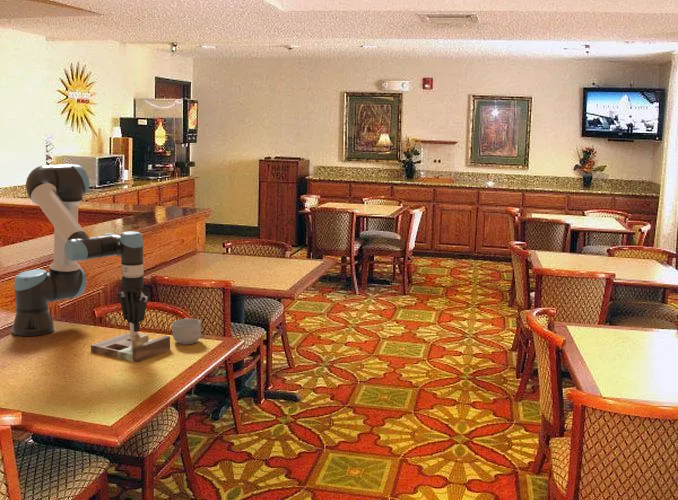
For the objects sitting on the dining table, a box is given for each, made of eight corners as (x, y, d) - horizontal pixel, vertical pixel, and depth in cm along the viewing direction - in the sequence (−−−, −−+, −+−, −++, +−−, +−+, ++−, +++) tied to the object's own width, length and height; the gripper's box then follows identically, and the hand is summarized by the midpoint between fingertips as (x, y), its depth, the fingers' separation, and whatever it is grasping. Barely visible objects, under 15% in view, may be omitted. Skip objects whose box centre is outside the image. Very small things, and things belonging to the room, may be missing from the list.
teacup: (197, 347, 279) (197, 326, 277) (168, 346, 279) (168, 325, 278) (205, 336, 293) (205, 316, 291) (177, 335, 293) (177, 315, 291)
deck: (90, 351, 271) (90, 338, 270) (125, 339, 285) (124, 327, 284) (137, 362, 260) (136, 348, 260) (170, 349, 275) (169, 336, 274)
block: (132, 346, 270) (131, 335, 269) (139, 343, 273) (139, 333, 272) (140, 348, 268) (140, 337, 267) (148, 345, 271) (148, 334, 271)
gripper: (111, 275, 267) (113, 339, 271) (139, 279, 261) (140, 345, 265) (126, 271, 273) (128, 334, 277) (153, 275, 267) (155, 339, 271)
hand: (134, 339), depth 271 cm, fingers closed
